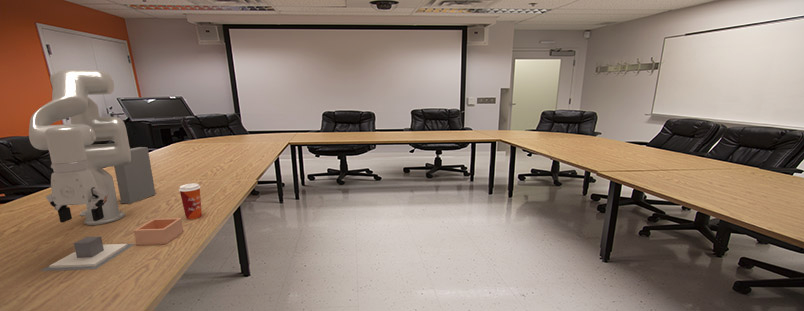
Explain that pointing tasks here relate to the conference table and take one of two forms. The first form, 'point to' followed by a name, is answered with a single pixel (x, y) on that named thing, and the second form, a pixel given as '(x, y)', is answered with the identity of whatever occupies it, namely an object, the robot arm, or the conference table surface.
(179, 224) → the open box
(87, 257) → the cover
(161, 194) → the conference table surface
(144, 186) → the tall grey upright block
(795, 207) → the conference table surface
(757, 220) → the conference table surface
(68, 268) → the mat
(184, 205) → the paper cup
